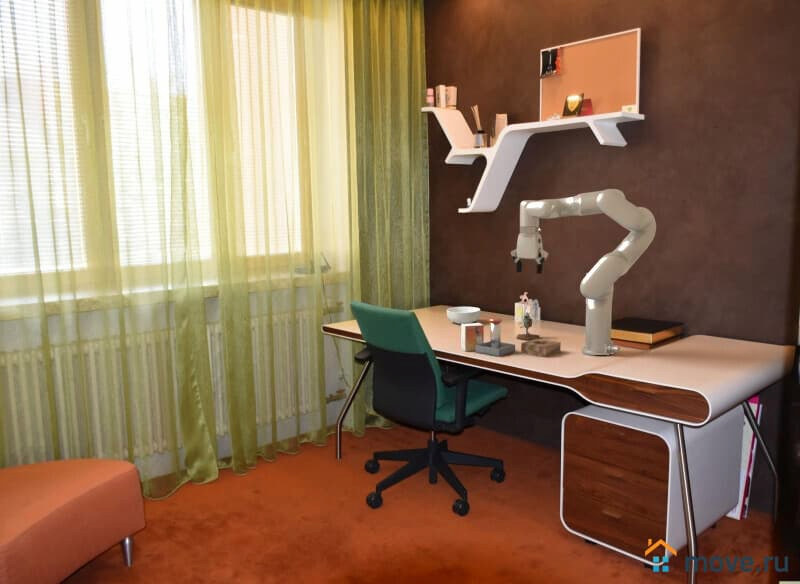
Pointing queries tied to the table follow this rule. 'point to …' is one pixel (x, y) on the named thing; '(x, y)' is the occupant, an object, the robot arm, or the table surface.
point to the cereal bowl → (463, 314)
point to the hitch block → (540, 347)
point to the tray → (486, 349)
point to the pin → (495, 332)
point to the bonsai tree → (527, 324)
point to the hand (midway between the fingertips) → (528, 272)
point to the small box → (471, 336)
